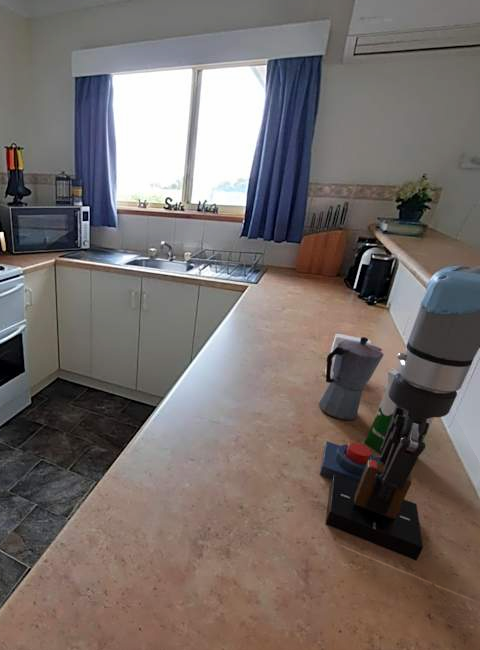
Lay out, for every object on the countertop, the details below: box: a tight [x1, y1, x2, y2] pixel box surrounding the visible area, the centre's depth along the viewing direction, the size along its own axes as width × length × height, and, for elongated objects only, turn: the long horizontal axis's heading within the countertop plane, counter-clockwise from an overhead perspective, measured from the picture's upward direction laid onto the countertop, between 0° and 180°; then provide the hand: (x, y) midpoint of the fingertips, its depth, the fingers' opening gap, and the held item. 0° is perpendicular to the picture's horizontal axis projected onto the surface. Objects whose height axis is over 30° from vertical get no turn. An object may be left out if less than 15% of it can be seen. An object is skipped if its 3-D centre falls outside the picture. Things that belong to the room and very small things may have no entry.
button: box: [346, 442, 372, 464], centre depth 77 cm, size 4×4×2 cm
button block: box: [319, 440, 382, 484], centre depth 78 cm, size 11×9×4 cm
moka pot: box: [318, 336, 384, 421], centre depth 95 cm, size 10×15×20 cm, turn 112°
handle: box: [354, 460, 413, 519], centre depth 65 cm, size 6×2×8 cm, turn 61°
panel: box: [325, 475, 424, 561], centre depth 67 cm, size 13×10×3 cm
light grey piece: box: [324, 333, 372, 379], centre depth 114 cm, size 9×9×12 cm
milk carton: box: [364, 368, 435, 455], centre depth 82 cm, size 9×9×20 cm
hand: (375, 502), depth 66 cm, fingers open, 3 cm apart
